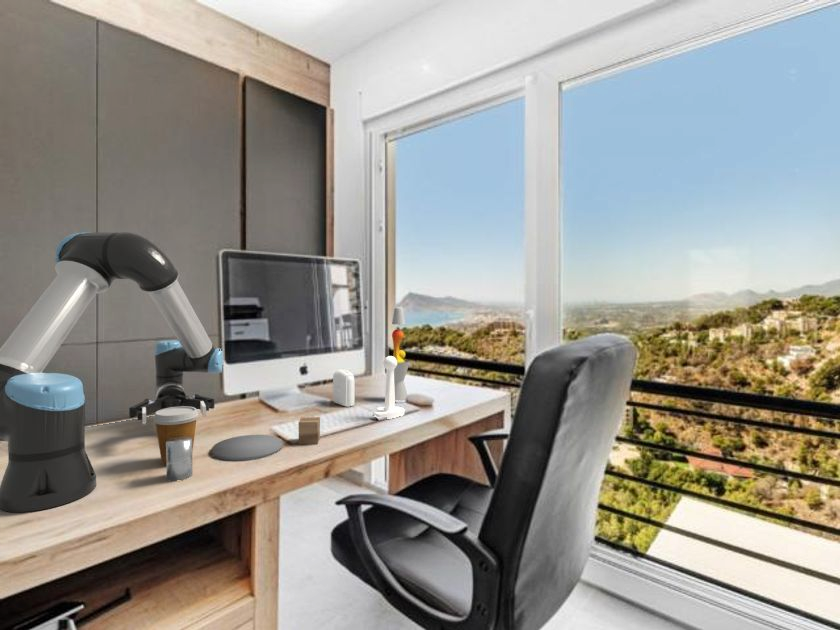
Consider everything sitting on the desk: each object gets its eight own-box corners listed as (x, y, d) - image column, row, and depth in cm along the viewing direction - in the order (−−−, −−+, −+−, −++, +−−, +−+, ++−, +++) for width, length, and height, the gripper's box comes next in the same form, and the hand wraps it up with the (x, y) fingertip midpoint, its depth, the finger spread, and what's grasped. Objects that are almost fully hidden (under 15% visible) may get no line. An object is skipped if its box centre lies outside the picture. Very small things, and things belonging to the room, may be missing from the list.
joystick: (381, 421, 145) (381, 358, 144) (366, 417, 150) (366, 355, 149) (406, 415, 152) (407, 355, 151) (391, 411, 158) (392, 353, 157)
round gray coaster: (258, 464, 108) (258, 459, 108) (196, 456, 112) (196, 452, 112) (295, 441, 124) (295, 437, 124) (240, 435, 129) (240, 432, 129)
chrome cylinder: (180, 482, 97) (180, 445, 97) (161, 479, 98) (160, 442, 98) (197, 473, 102) (197, 437, 102) (178, 470, 103) (178, 435, 103)
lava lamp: (398, 404, 167) (399, 308, 165) (380, 400, 172) (381, 307, 171) (414, 400, 174) (415, 307, 172) (396, 396, 179) (397, 306, 178)
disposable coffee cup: (184, 451, 116) (183, 404, 115) (207, 458, 111) (207, 409, 110) (145, 463, 108) (144, 412, 107) (168, 471, 103) (168, 418, 102)
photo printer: (331, 402, 169) (331, 368, 169) (341, 400, 172) (341, 367, 171) (345, 407, 161) (345, 372, 161) (356, 406, 164) (356, 371, 163)
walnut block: (317, 444, 123) (317, 421, 123) (298, 444, 122) (298, 422, 122) (319, 438, 128) (320, 416, 127) (301, 438, 127) (301, 417, 127)
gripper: (217, 404, 143) (227, 422, 124) (121, 415, 130) (117, 437, 112) (216, 380, 142) (227, 395, 124) (120, 389, 129) (116, 406, 111)
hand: (175, 415), depth 118 cm, fingers open, 13 cm apart
